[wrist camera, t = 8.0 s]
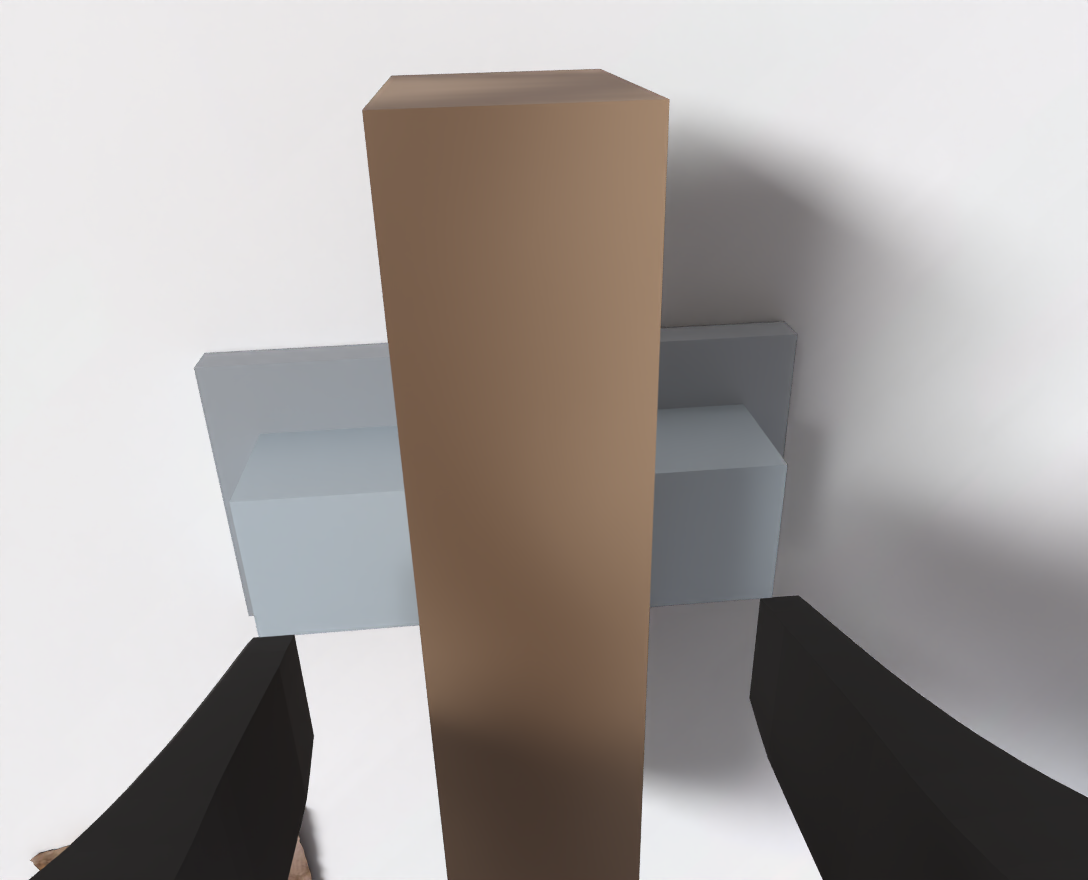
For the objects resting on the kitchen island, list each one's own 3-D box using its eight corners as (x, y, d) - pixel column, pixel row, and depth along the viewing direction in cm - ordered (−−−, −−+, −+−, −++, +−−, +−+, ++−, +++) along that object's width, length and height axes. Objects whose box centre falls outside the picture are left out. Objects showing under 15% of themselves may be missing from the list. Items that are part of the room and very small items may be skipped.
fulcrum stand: (784, 321, 18) (851, 386, 15) (758, 556, 21) (812, 652, 18) (204, 353, 18) (151, 429, 14) (256, 594, 20) (220, 701, 17)
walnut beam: (600, 68, 13) (669, 98, 9) (596, 830, 20) (632, 1040, 16) (391, 75, 12) (362, 110, 8) (464, 843, 20) (467, 1058, 16)
